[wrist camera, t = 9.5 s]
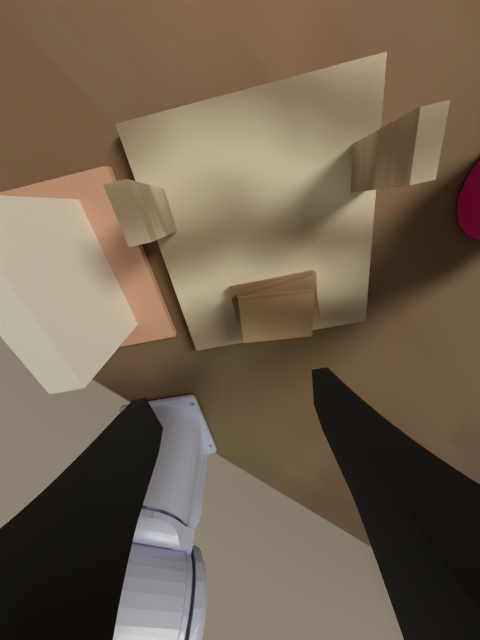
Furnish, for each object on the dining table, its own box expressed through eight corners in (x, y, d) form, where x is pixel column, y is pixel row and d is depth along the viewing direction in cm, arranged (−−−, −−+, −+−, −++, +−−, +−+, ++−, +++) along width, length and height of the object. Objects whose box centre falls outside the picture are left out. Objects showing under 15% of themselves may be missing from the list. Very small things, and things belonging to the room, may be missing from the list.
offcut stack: (314, 319, 17) (326, 334, 15) (240, 332, 18) (241, 349, 15) (312, 267, 15) (324, 277, 13) (229, 284, 16) (228, 296, 14)
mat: (176, 332, 19) (174, 336, 18) (100, 347, 19) (97, 350, 19) (111, 167, 13) (106, 165, 13) (8, 193, 14) (-2, 192, 13)
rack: (359, 315, 18) (410, 360, 13) (198, 344, 19) (184, 396, 14) (375, 63, 11) (499, -65, 6) (124, 130, 12) (39, 71, 7)
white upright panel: (78, 199, 13) (-58, 192, 7) (138, 324, 18) (84, 388, 11) (48, 206, 14) (-110, 205, 7) (114, 328, 18) (49, 394, 11)
